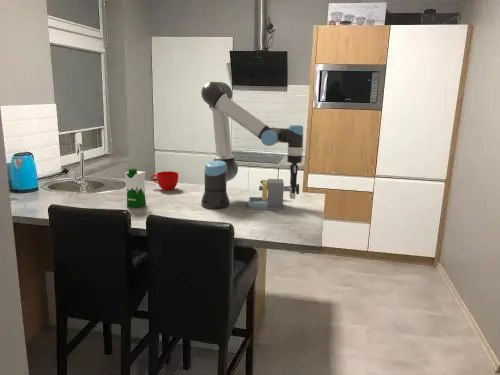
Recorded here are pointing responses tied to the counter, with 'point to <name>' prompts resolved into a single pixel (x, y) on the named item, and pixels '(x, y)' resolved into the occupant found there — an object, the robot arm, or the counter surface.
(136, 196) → the milk carton
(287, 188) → the shaft
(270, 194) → the bearing block
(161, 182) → the ceramic cup
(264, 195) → the brass ring
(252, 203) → the tray
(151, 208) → the counter surface
